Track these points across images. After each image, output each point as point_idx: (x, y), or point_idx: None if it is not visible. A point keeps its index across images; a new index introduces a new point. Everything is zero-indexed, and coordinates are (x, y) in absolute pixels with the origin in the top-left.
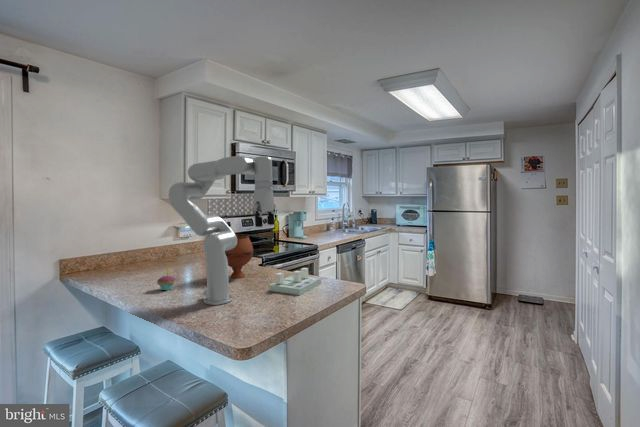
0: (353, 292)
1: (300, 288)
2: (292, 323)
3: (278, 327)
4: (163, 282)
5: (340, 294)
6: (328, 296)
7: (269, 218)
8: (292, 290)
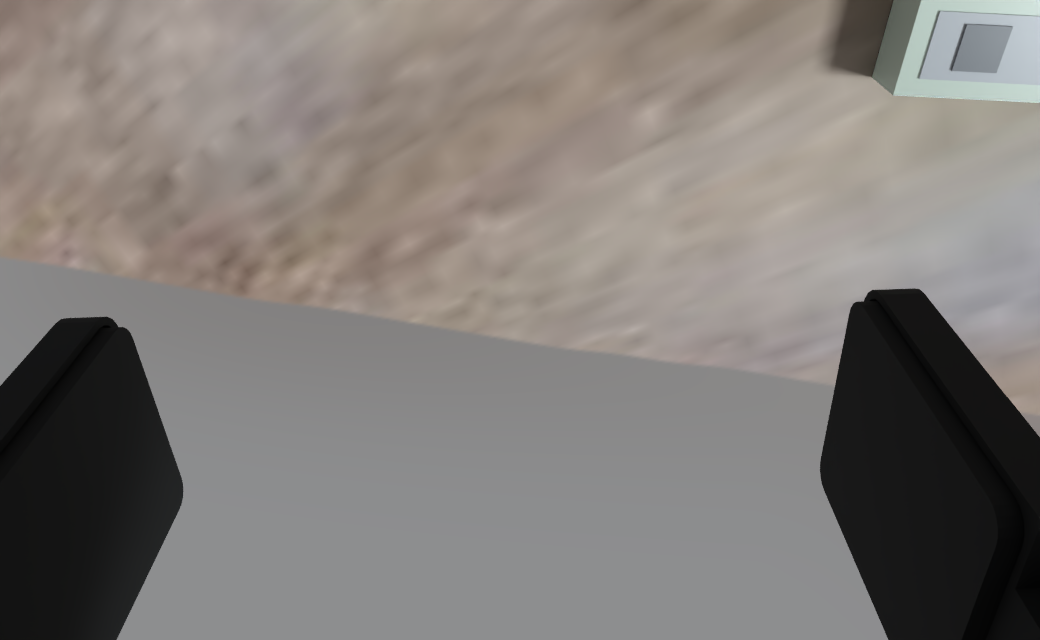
0: None
1: (915, 90)
2: (308, 296)
3: (214, 254)
4: None
5: None
6: None
7: (925, 515)
8: (908, 2)
